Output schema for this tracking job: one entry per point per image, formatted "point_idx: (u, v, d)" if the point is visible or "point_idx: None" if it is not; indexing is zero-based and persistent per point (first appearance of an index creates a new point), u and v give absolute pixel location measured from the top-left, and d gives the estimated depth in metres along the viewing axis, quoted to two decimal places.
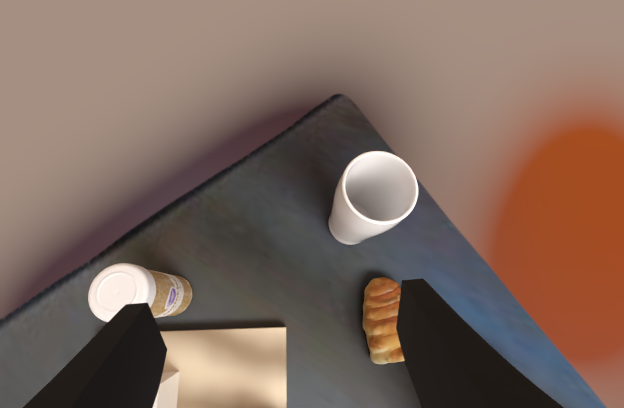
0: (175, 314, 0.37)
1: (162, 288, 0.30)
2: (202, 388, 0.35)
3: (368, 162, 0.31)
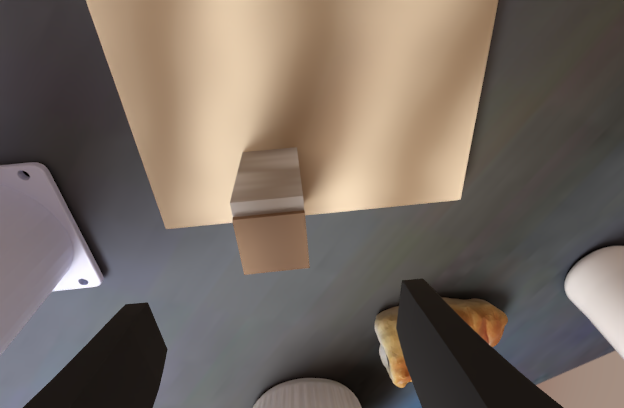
0: None
1: None
2: (358, 27, 0.14)
3: None
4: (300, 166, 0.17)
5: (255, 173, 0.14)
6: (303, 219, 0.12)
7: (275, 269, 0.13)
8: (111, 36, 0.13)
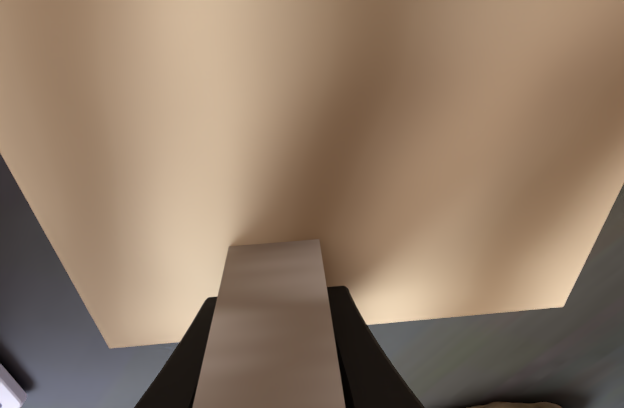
0: None
1: None
2: (446, 47, 0.07)
3: None
4: (323, 265, 0.10)
5: (247, 314, 0.07)
6: None
7: None
8: None
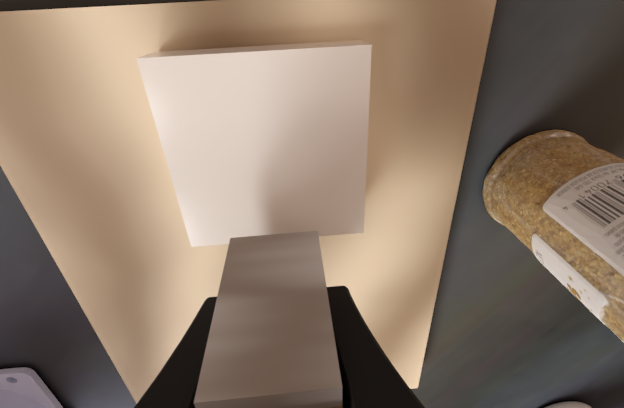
0: (488, 202, 0.14)
1: None
2: None
3: None
4: None
5: (249, 300, 0.08)
6: None
7: None
8: (90, 302, 0.14)
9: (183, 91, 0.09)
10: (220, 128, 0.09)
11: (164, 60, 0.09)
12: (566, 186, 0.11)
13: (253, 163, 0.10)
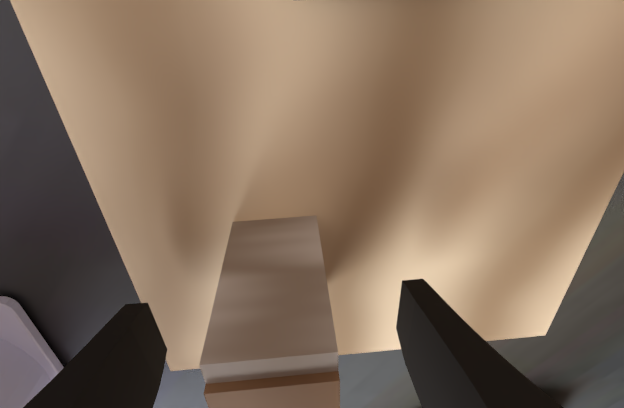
0: None
1: None
2: (448, 154, 0.10)
3: None
4: (349, 306, 0.13)
5: (250, 276, 0.08)
6: (336, 389, 0.07)
7: None
8: (101, 168, 0.09)
9: None
10: None
11: None
12: None
13: None
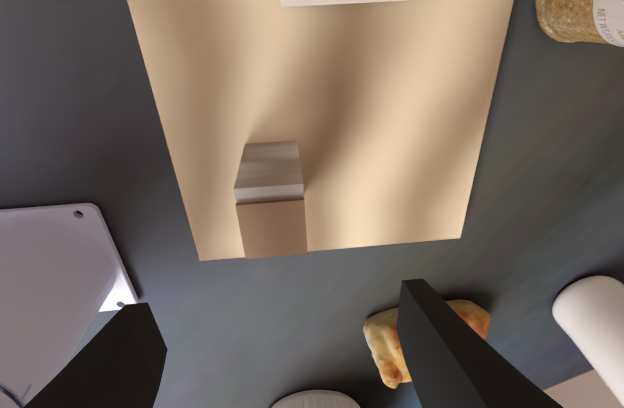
0: (542, 5, 0.15)
1: None
2: (376, 99, 0.16)
3: None
4: (321, 209, 0.19)
5: (257, 163, 0.14)
6: (303, 206, 0.13)
7: (275, 254, 0.14)
8: (167, 106, 0.15)
9: None
10: None
11: None
12: None
13: None
